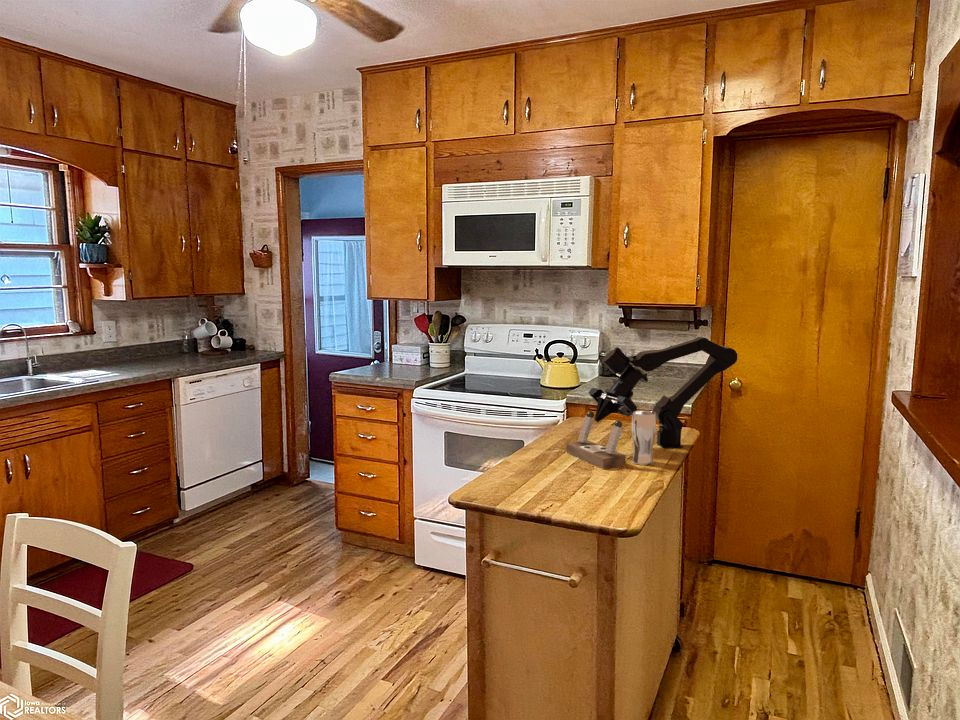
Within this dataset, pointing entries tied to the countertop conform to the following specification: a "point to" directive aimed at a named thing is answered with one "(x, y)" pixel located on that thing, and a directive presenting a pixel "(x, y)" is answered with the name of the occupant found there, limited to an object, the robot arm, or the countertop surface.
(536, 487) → the countertop surface
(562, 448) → the countertop surface
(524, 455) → the countertop surface
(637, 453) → the beer glass
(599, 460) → the switch box
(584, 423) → the lever
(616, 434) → the lever
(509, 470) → the countertop surface
